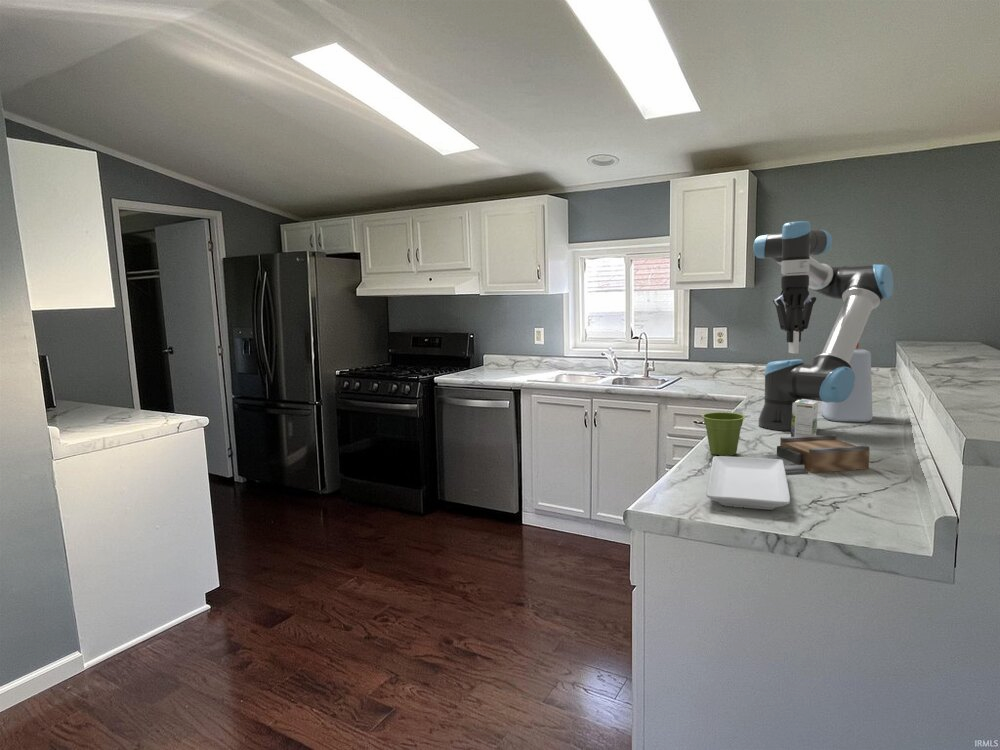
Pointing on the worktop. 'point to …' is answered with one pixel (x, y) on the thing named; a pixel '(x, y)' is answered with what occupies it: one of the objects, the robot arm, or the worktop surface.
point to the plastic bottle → (854, 393)
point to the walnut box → (828, 453)
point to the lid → (785, 458)
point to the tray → (748, 482)
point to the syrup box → (804, 418)
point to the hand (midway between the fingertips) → (793, 352)
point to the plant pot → (723, 432)
